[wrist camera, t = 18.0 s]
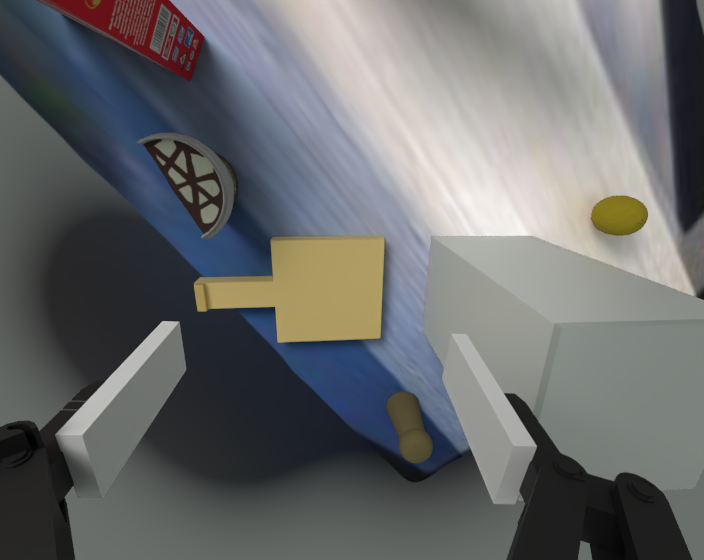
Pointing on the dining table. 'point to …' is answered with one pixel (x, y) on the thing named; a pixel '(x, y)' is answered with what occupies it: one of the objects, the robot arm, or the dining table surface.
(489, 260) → the tall white upright box
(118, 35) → the food packaging
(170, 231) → the dining table surface
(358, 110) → the dining table surface
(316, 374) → the dining table surface
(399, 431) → the cork
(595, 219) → the lemon
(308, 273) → the paddle
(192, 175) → the food container
